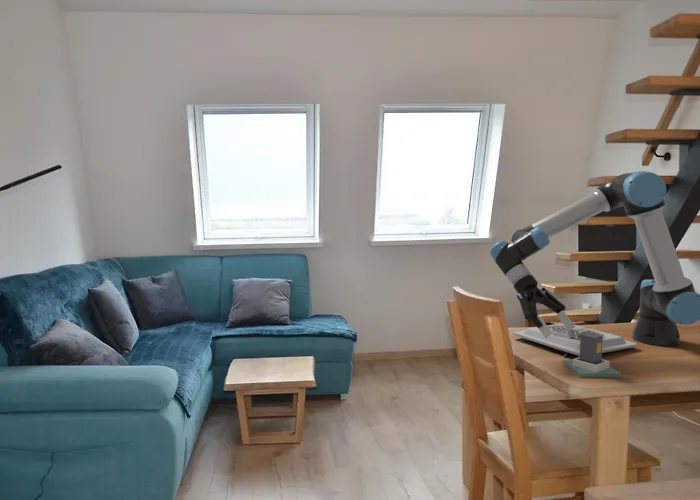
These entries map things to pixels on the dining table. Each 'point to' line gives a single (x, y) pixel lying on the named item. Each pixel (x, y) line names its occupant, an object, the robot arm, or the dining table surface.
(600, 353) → the plug
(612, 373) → the header board
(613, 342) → the ventilation fan
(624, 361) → the dining table surface
